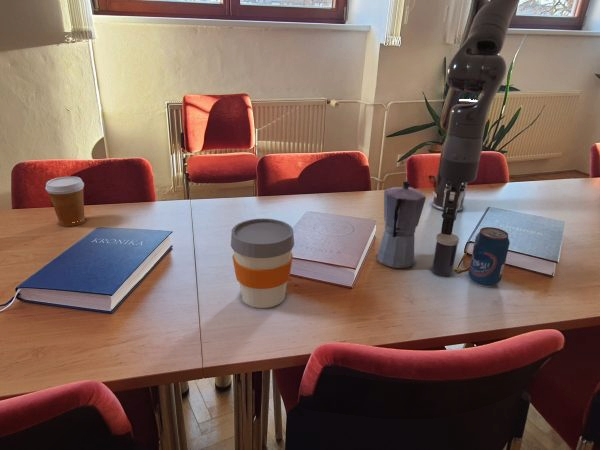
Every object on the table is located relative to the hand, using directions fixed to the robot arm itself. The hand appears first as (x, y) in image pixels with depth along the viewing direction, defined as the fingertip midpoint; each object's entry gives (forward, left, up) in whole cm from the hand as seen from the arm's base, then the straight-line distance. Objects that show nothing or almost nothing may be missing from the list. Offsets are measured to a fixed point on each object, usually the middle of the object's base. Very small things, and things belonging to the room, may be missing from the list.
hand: (448, 226), depth 99 cm
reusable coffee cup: (+27, -33, -12) cm, 44 cm away
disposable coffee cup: (+17, -99, -12) cm, 101 cm away
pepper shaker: (0, 0, -12) cm, 12 cm away
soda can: (0, +9, -12) cm, 15 cm away
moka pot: (0, -11, -12) cm, 16 cm away
